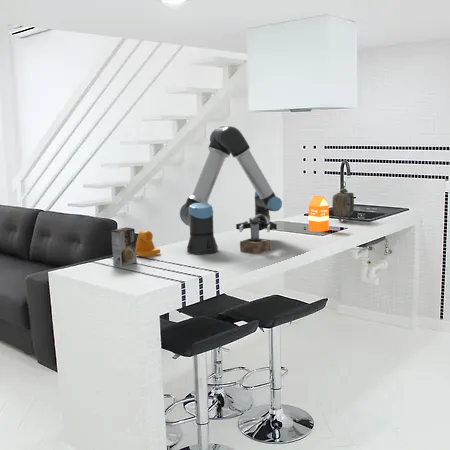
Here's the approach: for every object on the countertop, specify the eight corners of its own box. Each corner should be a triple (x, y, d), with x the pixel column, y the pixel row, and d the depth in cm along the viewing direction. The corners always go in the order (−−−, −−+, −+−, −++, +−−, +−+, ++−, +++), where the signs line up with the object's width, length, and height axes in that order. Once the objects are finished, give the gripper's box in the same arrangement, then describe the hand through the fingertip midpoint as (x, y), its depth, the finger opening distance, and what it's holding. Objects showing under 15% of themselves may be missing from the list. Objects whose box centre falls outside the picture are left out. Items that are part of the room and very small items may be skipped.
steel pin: (249, 251, 285) (248, 219, 282) (250, 249, 290) (250, 217, 287) (259, 251, 284) (259, 219, 281) (261, 249, 289) (260, 217, 286)
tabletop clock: (345, 223, 357) (345, 182, 353) (331, 222, 362) (331, 182, 358) (353, 219, 369) (353, 180, 365) (340, 218, 374) (340, 180, 370)
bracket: (142, 258, 278) (141, 233, 276) (134, 256, 283) (133, 231, 281) (161, 254, 285) (160, 230, 283) (152, 252, 290) (151, 228, 288)
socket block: (257, 253, 279) (257, 243, 279) (240, 251, 286) (240, 241, 285) (270, 249, 287) (270, 239, 286) (253, 247, 294) (253, 237, 293)
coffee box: (127, 261, 273) (125, 227, 270) (137, 262, 269) (135, 228, 266) (112, 264, 266) (110, 230, 263) (122, 266, 262) (119, 231, 259)
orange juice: (319, 232, 330) (319, 197, 327) (308, 230, 338) (308, 195, 334) (329, 230, 335) (328, 195, 332) (318, 228, 342) (317, 194, 339)
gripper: (284, 229, 301) (279, 237, 280) (236, 229, 306) (229, 236, 285) (283, 215, 300) (279, 221, 279) (236, 215, 304) (228, 221, 284)
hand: (254, 229), depth 282 cm, fingers open, 13 cm apart
